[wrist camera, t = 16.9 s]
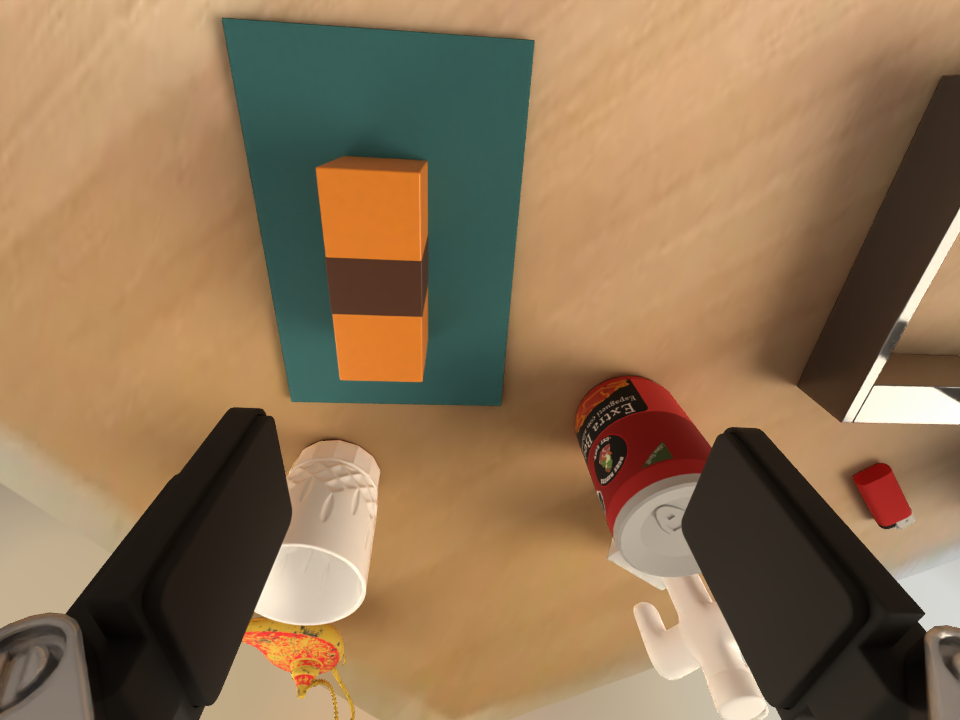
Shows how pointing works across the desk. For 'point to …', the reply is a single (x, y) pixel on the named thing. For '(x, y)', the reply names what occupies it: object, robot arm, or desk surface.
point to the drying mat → (398, 135)
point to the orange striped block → (377, 264)
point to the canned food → (643, 470)
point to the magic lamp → (300, 652)
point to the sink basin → (897, 290)
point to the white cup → (324, 537)
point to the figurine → (696, 643)
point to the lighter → (884, 497)
